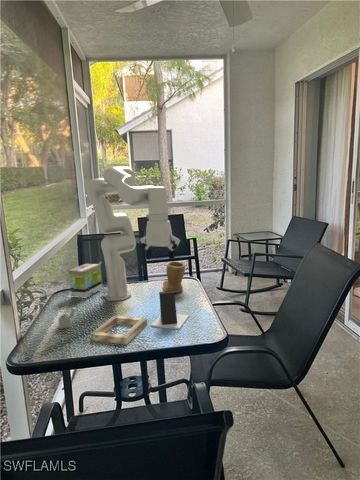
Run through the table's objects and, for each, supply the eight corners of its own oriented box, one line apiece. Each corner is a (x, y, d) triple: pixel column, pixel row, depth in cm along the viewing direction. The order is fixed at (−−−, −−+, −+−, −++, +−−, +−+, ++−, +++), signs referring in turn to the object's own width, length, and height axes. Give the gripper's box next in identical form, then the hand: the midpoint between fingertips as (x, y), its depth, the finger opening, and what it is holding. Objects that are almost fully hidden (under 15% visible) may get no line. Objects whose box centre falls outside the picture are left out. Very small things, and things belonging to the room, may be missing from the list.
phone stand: (177, 323, 131) (175, 294, 129) (162, 325, 130) (160, 296, 128) (174, 314, 140) (172, 287, 137) (160, 316, 139) (158, 288, 137)
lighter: (59, 328, 135) (57, 309, 133) (60, 326, 137) (58, 308, 135) (77, 326, 136) (75, 307, 135) (78, 324, 138) (76, 306, 136)
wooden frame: (91, 340, 123) (90, 333, 122) (114, 321, 139) (114, 315, 138) (126, 344, 118) (126, 338, 117) (147, 324, 133) (146, 318, 133)
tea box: (86, 299, 168) (83, 271, 165) (70, 297, 171) (67, 270, 168) (103, 289, 181) (100, 263, 179) (88, 288, 185) (85, 262, 182)
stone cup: (187, 293, 166) (185, 264, 163) (163, 295, 165) (161, 266, 162) (184, 284, 181) (183, 257, 178) (163, 286, 180) (161, 259, 177)
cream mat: (151, 326, 131) (151, 324, 131) (162, 314, 142) (162, 313, 142) (179, 329, 127) (179, 327, 127) (189, 316, 138) (189, 315, 138)
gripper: (134, 218, 131) (137, 260, 135) (175, 219, 125) (177, 262, 129) (143, 216, 138) (145, 255, 142) (181, 216, 132) (183, 257, 136)
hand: (160, 259), depth 135 cm, fingers open, 9 cm apart
